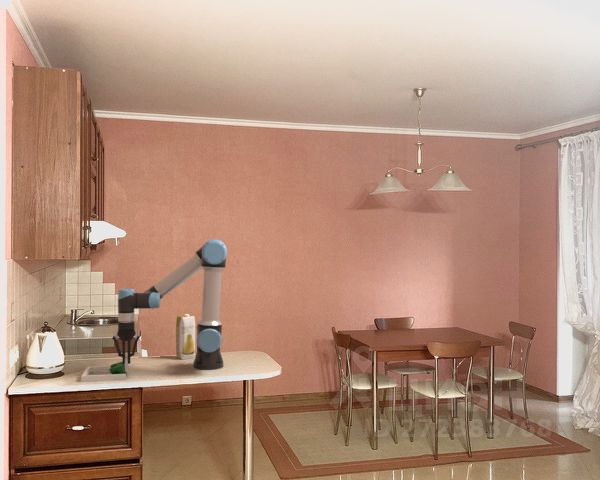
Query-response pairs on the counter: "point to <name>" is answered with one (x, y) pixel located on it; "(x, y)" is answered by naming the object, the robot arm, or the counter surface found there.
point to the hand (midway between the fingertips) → (126, 370)
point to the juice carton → (185, 337)
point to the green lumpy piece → (118, 368)
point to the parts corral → (88, 378)
